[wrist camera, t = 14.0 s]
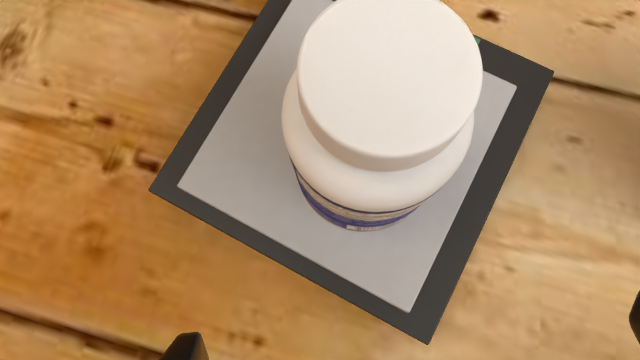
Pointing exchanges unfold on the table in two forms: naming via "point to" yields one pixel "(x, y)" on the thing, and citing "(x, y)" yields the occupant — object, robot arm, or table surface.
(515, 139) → the kitchen scale
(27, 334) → the table surface
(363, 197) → the pill bottle
